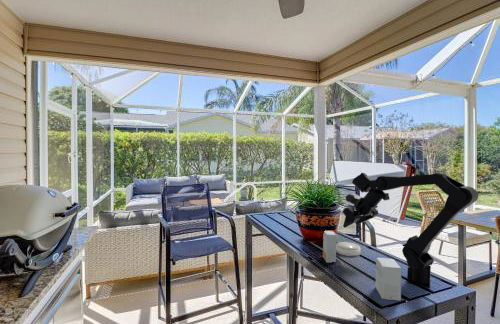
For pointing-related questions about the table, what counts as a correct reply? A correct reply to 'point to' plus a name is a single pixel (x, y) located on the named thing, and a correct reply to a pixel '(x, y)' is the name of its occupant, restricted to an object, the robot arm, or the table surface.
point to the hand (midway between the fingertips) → (350, 225)
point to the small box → (388, 279)
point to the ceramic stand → (348, 249)
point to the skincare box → (329, 246)
